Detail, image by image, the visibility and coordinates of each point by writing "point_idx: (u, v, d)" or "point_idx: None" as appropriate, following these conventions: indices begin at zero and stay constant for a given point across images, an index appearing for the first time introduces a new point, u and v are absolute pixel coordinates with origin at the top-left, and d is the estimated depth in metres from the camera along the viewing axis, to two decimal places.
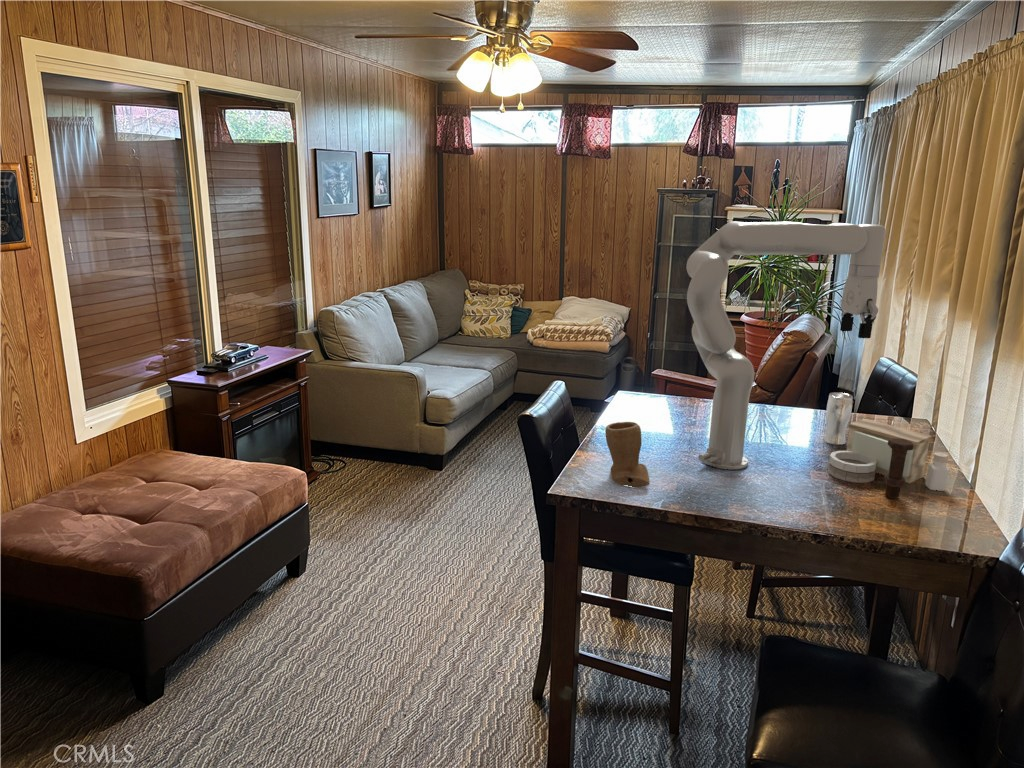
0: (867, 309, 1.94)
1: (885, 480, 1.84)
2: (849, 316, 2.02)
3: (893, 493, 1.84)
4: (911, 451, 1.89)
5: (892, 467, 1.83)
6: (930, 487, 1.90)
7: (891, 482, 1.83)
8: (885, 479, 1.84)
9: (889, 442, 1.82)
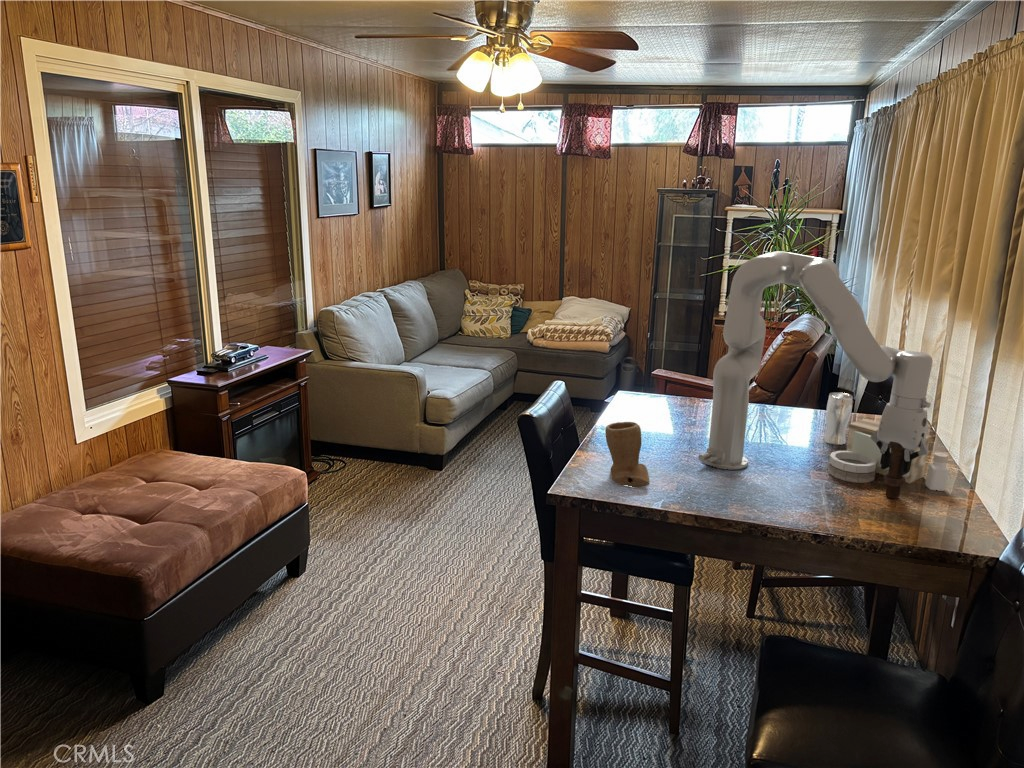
0: None
1: (885, 480, 1.84)
2: None
3: (893, 493, 1.83)
4: None
5: (892, 466, 1.83)
6: (930, 487, 1.90)
7: (891, 481, 1.83)
8: (885, 479, 1.84)
9: None
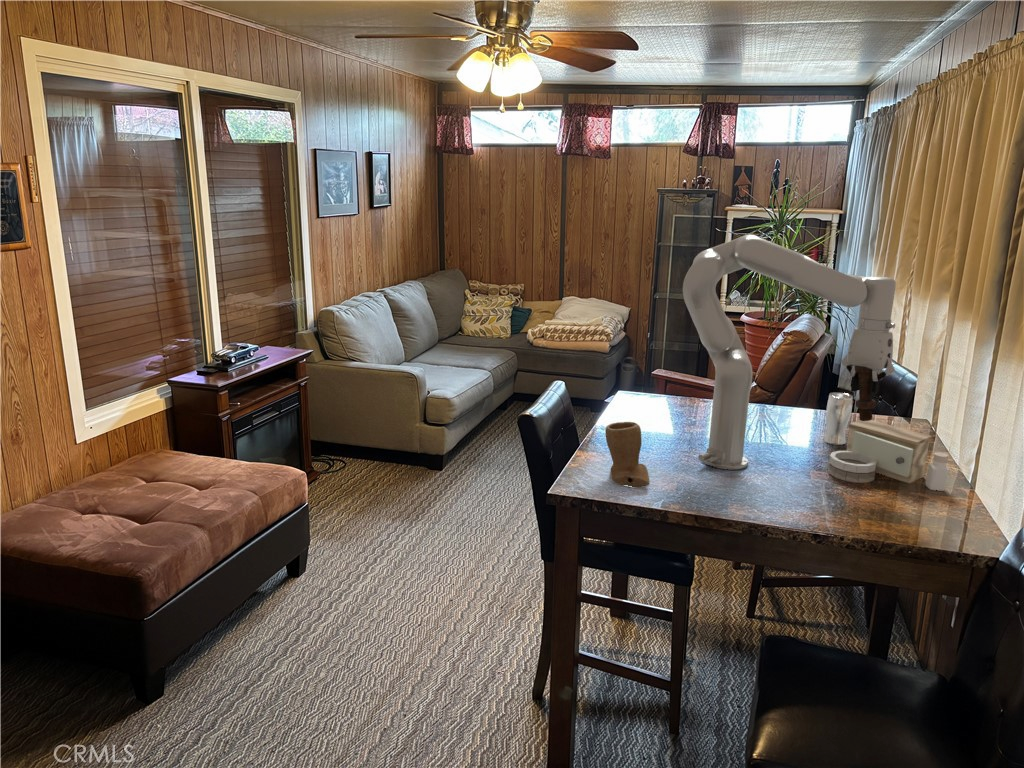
0: None
1: (857, 404, 1.94)
2: None
3: (866, 415, 1.93)
4: (911, 451, 1.89)
5: (861, 390, 1.93)
6: (930, 487, 1.90)
7: (862, 405, 1.92)
8: (857, 403, 1.94)
9: None
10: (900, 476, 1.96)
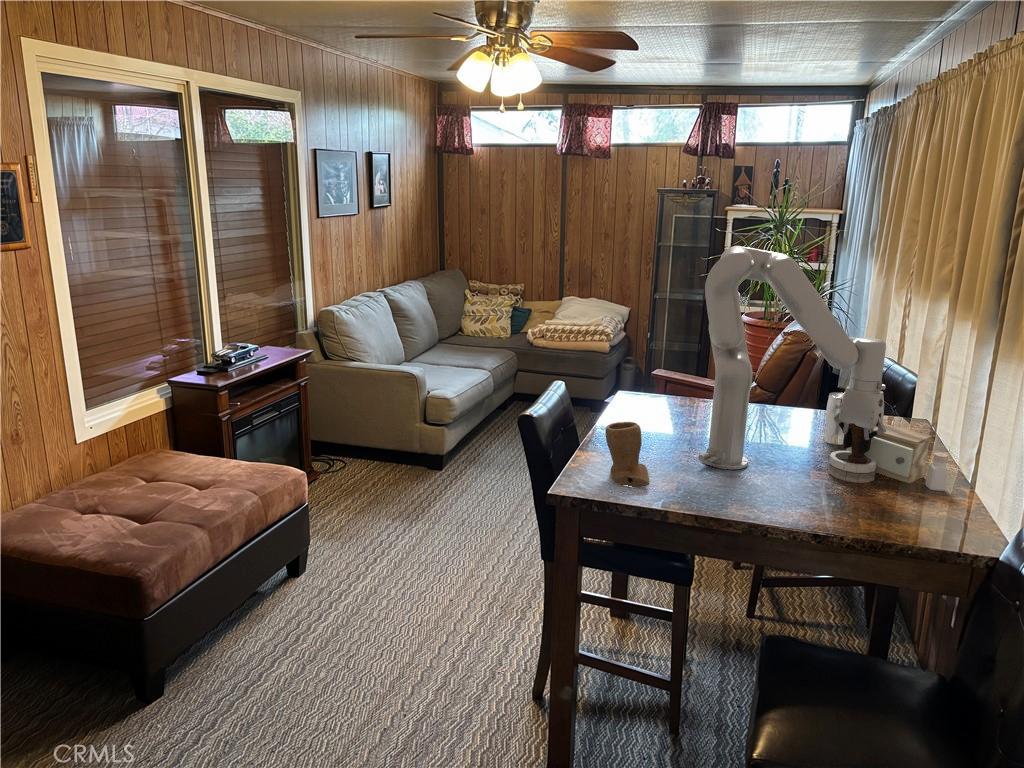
0: None
1: (849, 459, 1.98)
2: None
3: None
4: (911, 451, 1.89)
5: (853, 446, 1.97)
6: (930, 487, 1.90)
7: (854, 460, 1.96)
8: (849, 459, 1.98)
9: None
10: (900, 476, 1.96)
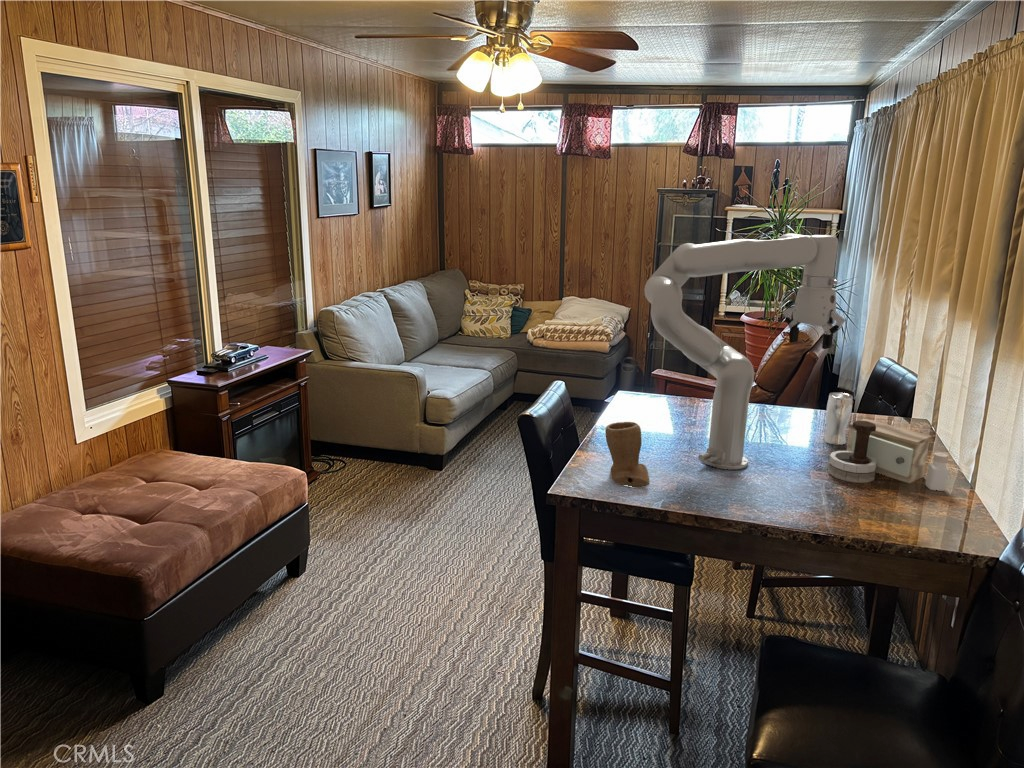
0: None
1: (850, 460, 1.98)
2: None
3: None
4: (911, 451, 1.89)
5: (857, 447, 1.96)
6: (930, 487, 1.90)
7: (856, 461, 1.96)
8: (850, 459, 1.98)
9: (854, 424, 1.96)
10: (900, 476, 1.96)
